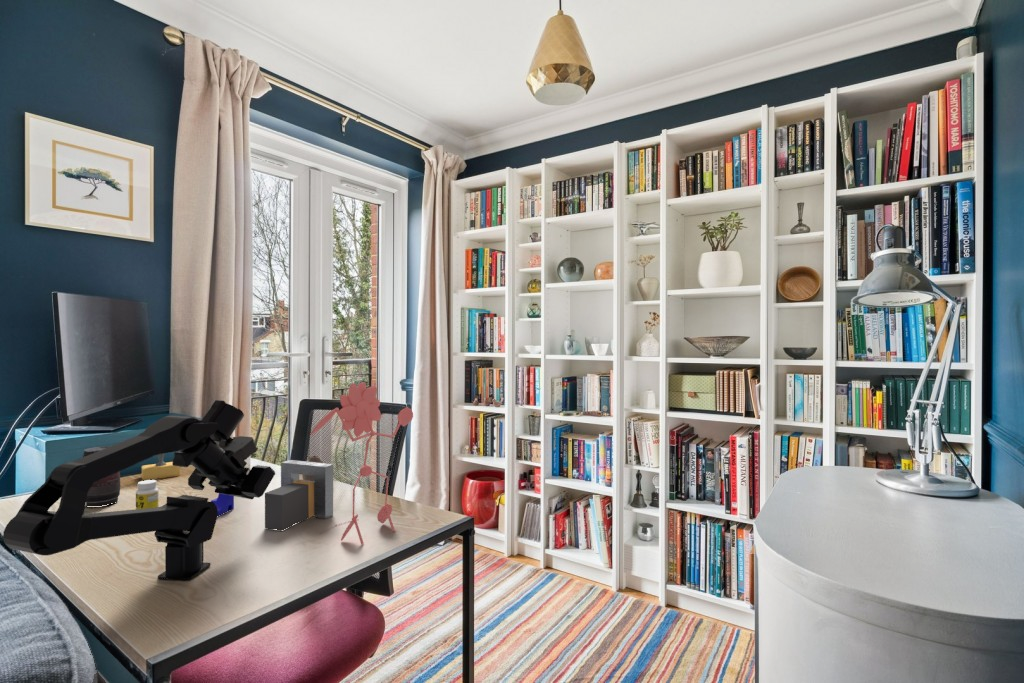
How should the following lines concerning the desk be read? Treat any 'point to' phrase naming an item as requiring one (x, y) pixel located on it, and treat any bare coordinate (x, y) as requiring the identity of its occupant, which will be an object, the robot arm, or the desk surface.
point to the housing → (322, 482)
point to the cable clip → (224, 503)
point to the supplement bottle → (147, 494)
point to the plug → (289, 504)
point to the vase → (312, 459)
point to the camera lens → (103, 486)
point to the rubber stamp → (160, 469)
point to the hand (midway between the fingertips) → (252, 497)
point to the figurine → (359, 416)
